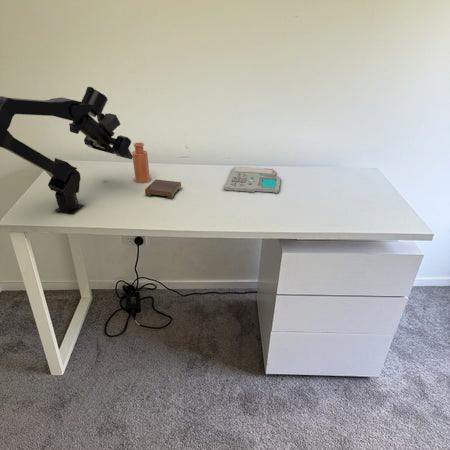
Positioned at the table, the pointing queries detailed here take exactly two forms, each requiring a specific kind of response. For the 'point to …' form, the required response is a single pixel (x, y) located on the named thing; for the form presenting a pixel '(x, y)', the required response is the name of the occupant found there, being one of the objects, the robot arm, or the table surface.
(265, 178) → the office telephone
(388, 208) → the table surface
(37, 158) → the robot arm
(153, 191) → the stand
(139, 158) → the vase
